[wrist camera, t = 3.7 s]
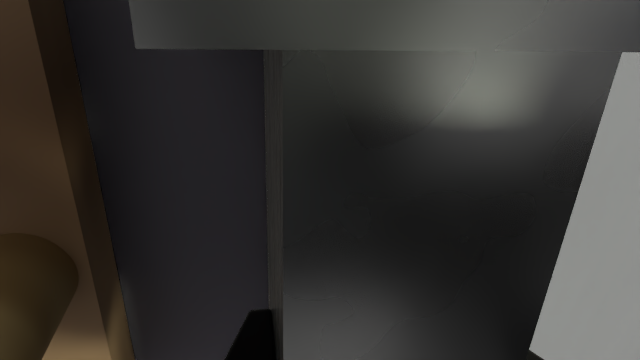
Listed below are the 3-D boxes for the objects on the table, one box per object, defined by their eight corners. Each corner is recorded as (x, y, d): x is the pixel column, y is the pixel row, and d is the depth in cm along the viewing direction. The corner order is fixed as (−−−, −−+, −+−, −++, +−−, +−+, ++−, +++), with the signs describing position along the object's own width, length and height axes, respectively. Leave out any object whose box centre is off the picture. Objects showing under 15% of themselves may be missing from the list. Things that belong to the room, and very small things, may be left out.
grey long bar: (158, -370, 5) (-21, -1069, 2) (568, -313, 6) (1038, -703, 2) (236, 544, 13) (234, 755, 10) (405, 518, 14) (459, 705, 11)
